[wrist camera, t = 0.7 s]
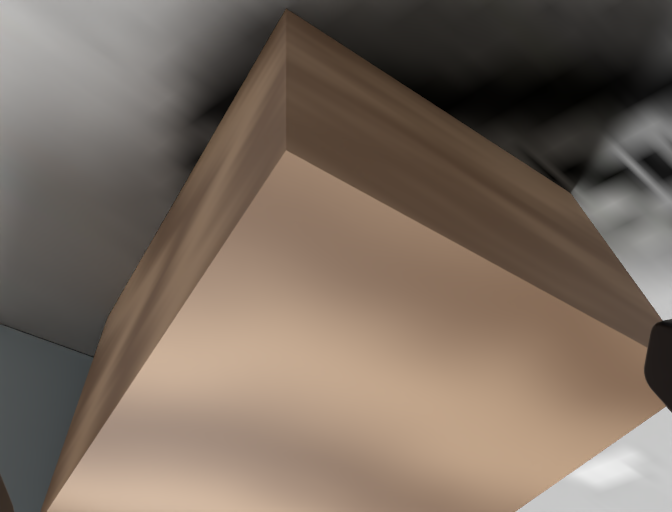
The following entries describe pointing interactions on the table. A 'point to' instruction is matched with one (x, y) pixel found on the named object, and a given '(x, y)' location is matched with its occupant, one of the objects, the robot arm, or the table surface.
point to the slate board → (35, 412)
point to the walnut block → (356, 317)
